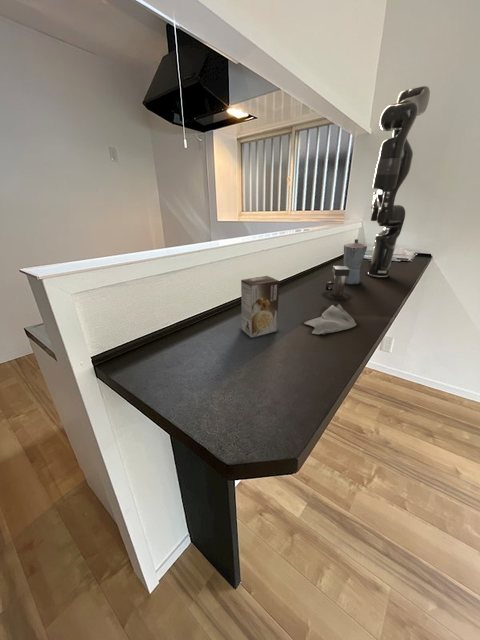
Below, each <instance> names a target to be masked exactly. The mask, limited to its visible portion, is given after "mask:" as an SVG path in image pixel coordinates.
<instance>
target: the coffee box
mask: <svg viewBox="0 0 480 640" xmlns="http://www.w3.org/2000/svg"><path fill="white" fill-rule="evenodd" d="M240 284H241V285H240V288H241V289H240V291H241V293H240V294H241V295H240V296H241V330H242V332H244V333H245V334H247V336H249V338H252V339H253V338H256V337H260V336H265V335H268V334H271V333H275V332H277V331H278V319H279V317H278V315H279V296H280V280H279V279H276V278H274V277H271V276H269V275H264V276H263V275H262V276H256V277H251V278H244V279H240Z"/></svg>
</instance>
